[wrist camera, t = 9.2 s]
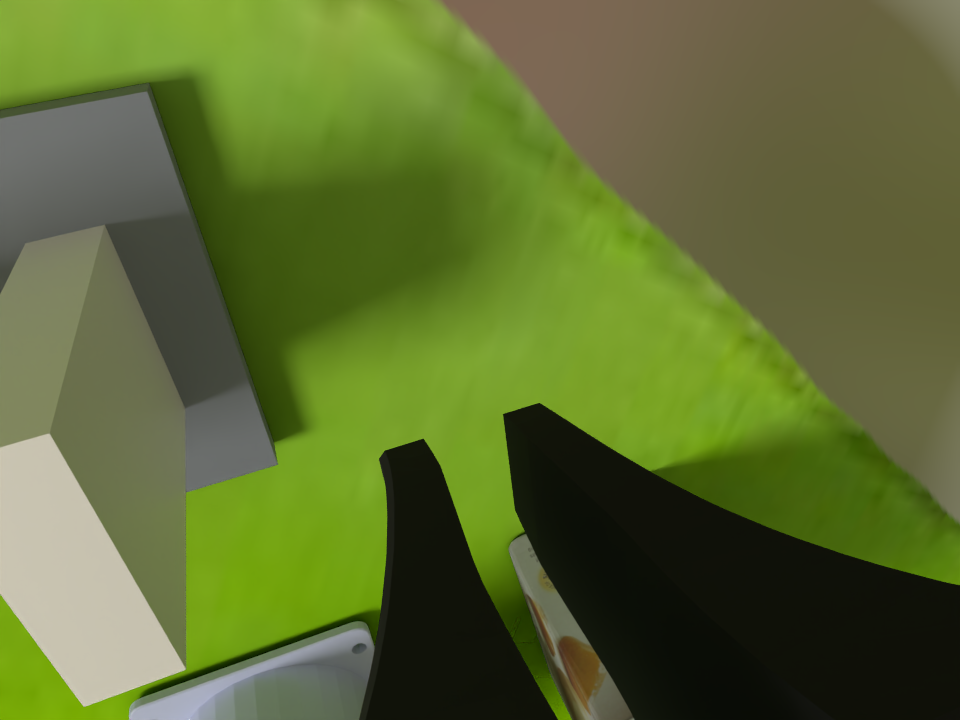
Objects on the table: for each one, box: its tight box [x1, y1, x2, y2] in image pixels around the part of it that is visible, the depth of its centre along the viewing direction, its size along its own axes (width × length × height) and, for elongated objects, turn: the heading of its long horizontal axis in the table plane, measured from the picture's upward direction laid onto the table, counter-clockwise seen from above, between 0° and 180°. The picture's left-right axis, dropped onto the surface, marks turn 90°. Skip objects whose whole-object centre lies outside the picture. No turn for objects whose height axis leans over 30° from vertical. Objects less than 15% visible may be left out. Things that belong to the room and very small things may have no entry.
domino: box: [0, 225, 186, 707], centre depth 14 cm, size 5×2×8 cm, turn 7°
